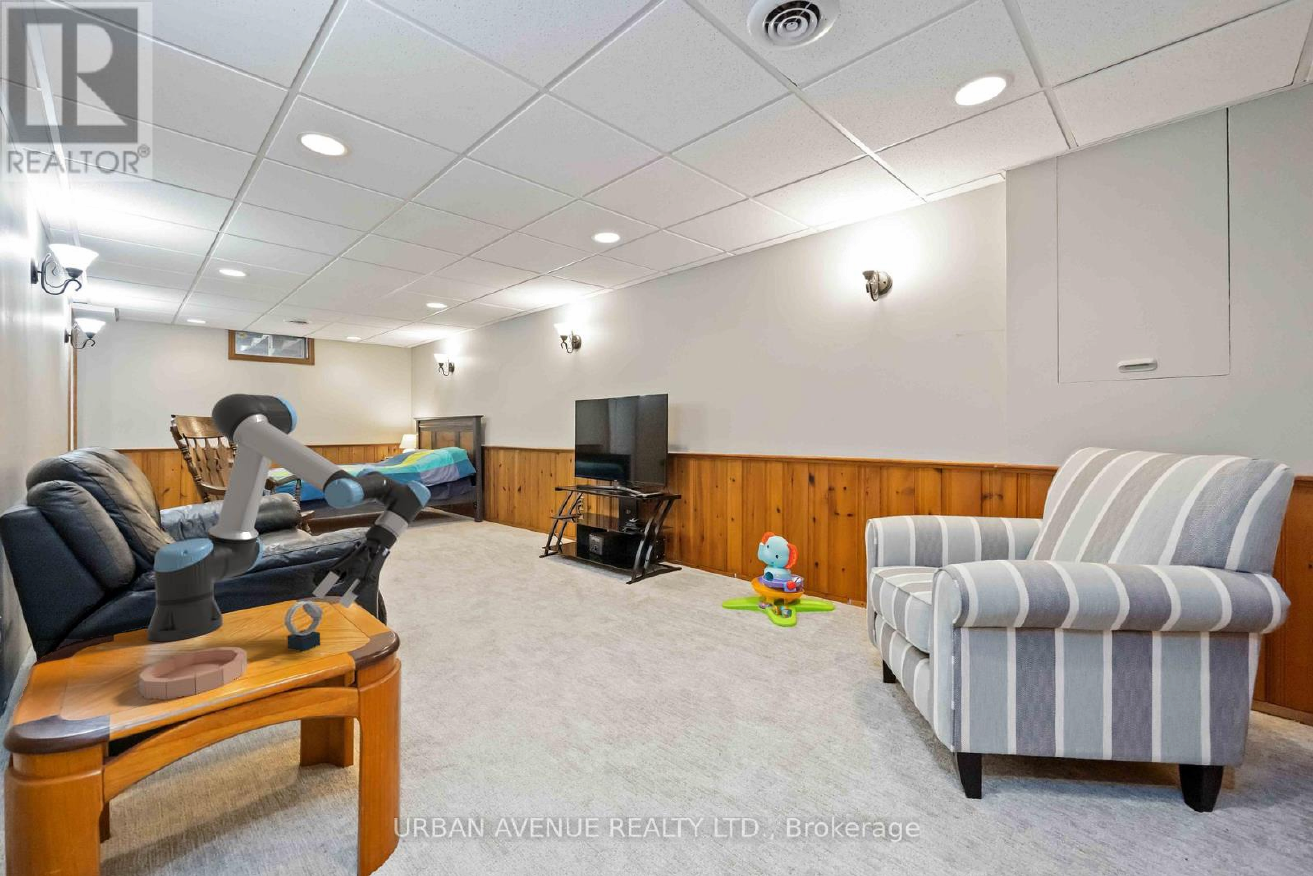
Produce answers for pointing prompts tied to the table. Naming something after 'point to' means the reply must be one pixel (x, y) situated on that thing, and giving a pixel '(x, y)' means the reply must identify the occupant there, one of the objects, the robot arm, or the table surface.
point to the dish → (192, 672)
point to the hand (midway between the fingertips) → (329, 600)
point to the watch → (305, 637)
